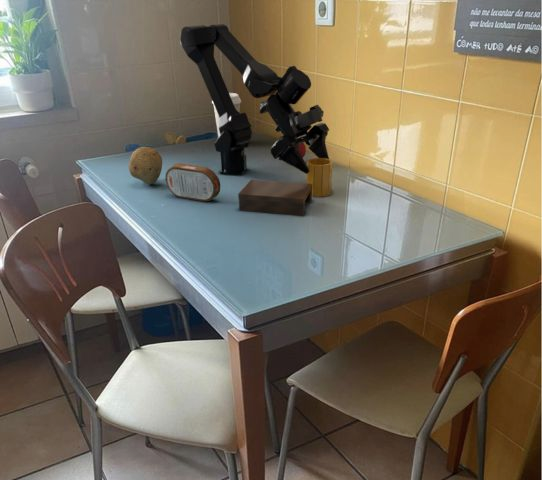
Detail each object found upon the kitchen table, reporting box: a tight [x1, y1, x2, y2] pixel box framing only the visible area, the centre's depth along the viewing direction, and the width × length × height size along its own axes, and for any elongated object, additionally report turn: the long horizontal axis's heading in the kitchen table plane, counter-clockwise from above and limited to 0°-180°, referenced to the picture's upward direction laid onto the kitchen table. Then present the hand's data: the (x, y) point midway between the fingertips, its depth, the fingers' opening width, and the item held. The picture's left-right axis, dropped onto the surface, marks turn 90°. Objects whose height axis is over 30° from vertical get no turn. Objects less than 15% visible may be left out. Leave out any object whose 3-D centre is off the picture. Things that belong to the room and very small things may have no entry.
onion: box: [299, 142, 307, 159], centre depth 162 cm, size 6×6×8 cm
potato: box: [128, 146, 163, 185], centre depth 147 cm, size 9×9×10 cm
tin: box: [165, 162, 221, 202], centre depth 137 cm, size 15×3×8 cm, turn 65°
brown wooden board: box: [237, 179, 313, 216], centre depth 134 cm, size 16×11×4 cm
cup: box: [305, 157, 334, 198], centre depth 140 cm, size 6×7×8 cm
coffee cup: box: [211, 92, 242, 138], centre depth 179 cm, size 10×10×15 cm
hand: (318, 168), depth 139 cm, fingers open, 9 cm apart
